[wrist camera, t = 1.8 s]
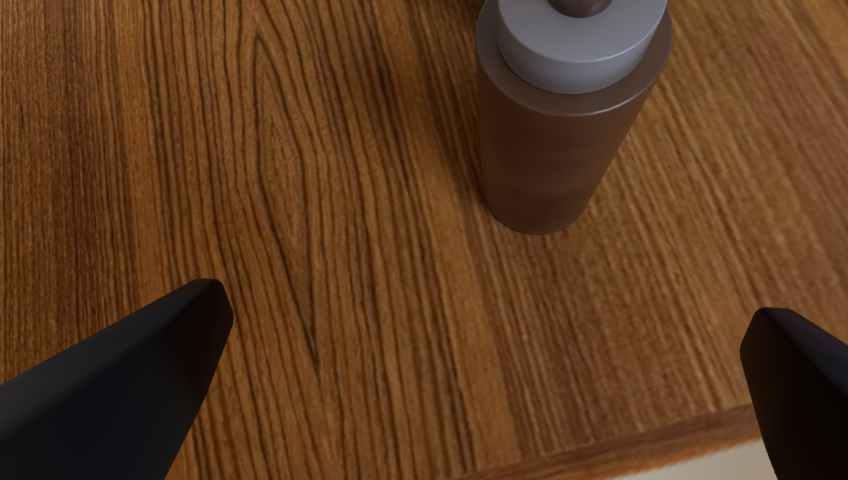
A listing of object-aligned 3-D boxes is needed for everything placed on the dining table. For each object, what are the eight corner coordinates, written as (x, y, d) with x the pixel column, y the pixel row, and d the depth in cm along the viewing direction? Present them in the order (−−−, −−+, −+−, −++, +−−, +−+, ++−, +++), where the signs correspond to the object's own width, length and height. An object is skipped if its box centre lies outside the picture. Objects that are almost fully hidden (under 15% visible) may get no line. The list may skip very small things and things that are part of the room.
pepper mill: (613, 198, 23) (767, -25, 10) (521, 255, 23) (559, 104, 10) (549, 117, 25) (612, -164, 12) (462, 171, 24) (429, -54, 12)
